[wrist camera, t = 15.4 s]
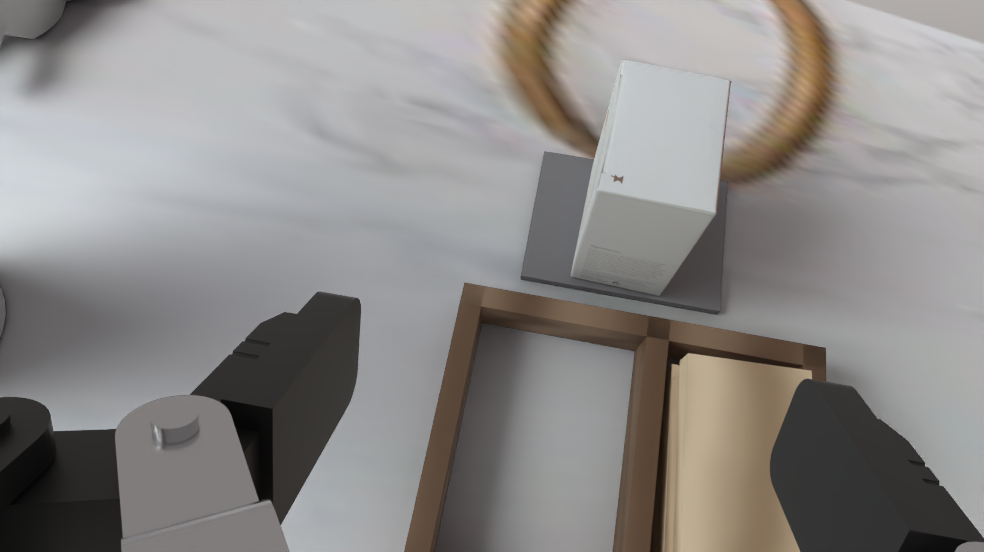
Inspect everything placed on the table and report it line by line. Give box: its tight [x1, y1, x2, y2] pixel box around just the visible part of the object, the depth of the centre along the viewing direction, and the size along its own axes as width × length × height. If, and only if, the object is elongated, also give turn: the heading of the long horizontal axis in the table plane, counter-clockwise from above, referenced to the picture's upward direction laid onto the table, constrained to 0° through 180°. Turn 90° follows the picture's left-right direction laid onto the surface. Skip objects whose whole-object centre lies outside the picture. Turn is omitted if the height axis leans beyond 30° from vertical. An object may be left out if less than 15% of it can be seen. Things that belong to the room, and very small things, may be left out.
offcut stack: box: [650, 353, 812, 552], centre depth 32 cm, size 6×12×6 cm, turn 172°
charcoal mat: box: [521, 151, 728, 314], centre depth 40 cm, size 12×9×1 cm
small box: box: [571, 60, 731, 296], centre depth 34 cm, size 8×6×10 cm
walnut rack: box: [404, 283, 826, 552], centre depth 33 cm, size 20×16×3 cm
